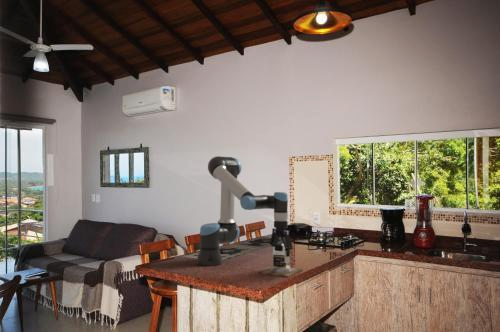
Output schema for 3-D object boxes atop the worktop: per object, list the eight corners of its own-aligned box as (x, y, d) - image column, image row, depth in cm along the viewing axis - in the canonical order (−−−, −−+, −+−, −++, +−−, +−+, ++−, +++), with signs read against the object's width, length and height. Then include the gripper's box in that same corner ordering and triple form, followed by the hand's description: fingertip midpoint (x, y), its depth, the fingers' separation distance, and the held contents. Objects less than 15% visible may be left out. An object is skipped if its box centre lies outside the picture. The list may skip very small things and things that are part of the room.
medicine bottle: (273, 267, 197) (273, 245, 198) (274, 264, 204) (274, 242, 205) (286, 268, 196) (286, 245, 197) (287, 264, 203) (287, 243, 204)
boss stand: (258, 273, 197) (258, 267, 197) (274, 266, 212) (274, 261, 213) (288, 277, 188) (288, 271, 188) (302, 270, 203) (302, 265, 203)
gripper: (299, 222, 193) (299, 263, 191) (275, 218, 214) (275, 255, 213) (287, 222, 189) (287, 265, 188) (263, 218, 210) (263, 257, 209)
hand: (280, 260), depth 200 cm, fingers open, 11 cm apart
